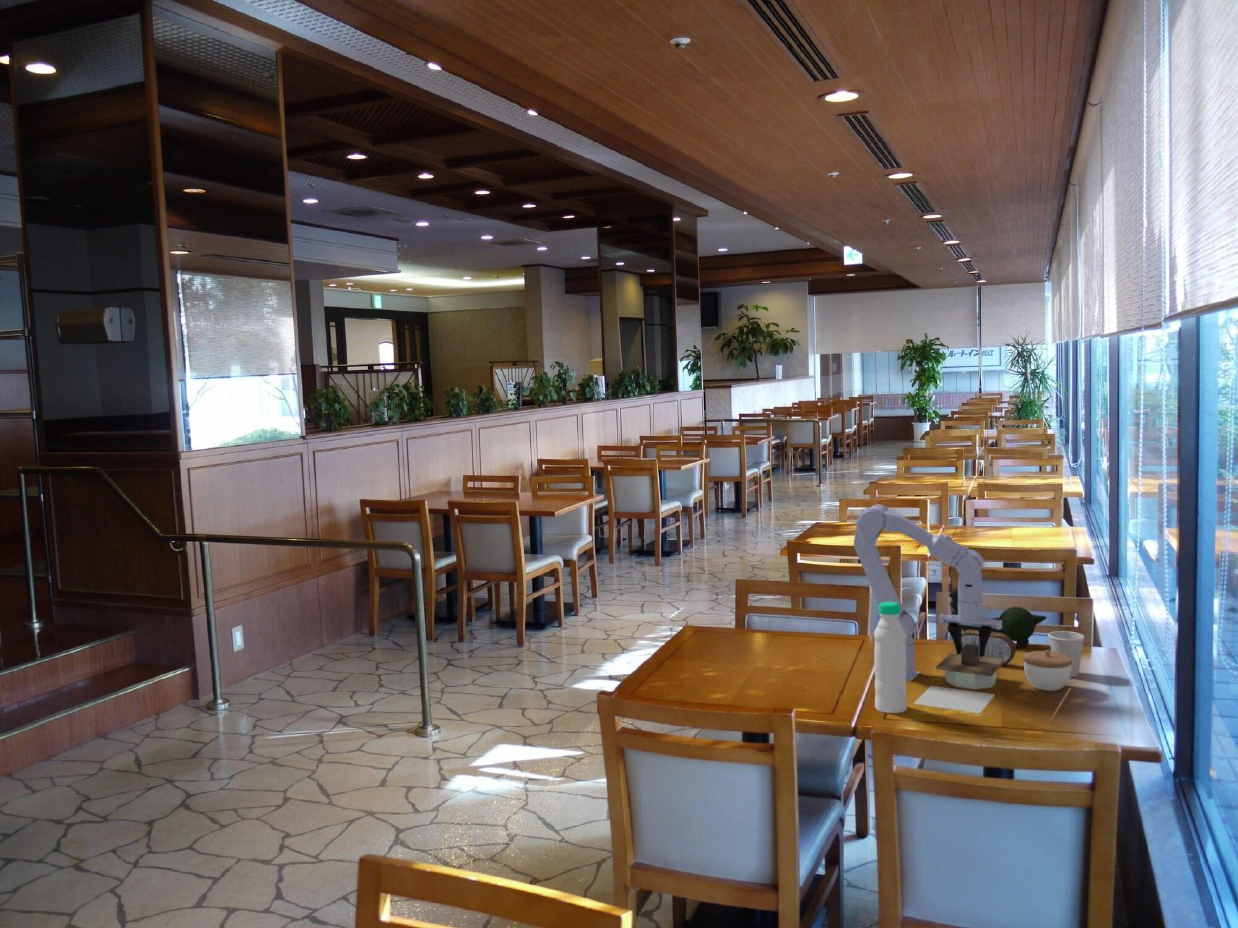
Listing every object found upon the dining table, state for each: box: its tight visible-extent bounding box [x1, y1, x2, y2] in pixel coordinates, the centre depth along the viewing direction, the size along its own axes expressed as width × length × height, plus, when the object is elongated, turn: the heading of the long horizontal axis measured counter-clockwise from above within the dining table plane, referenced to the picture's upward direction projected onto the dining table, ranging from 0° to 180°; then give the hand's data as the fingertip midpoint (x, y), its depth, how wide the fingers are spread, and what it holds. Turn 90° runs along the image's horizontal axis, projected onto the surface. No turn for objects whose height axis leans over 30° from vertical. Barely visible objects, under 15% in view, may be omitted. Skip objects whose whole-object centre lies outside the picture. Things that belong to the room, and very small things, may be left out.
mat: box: [912, 685, 996, 715], centre depth 232 cm, size 15×15×1 cm
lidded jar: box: [1022, 649, 1072, 692], centre depth 238 cm, size 11×11×9 cm
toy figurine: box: [948, 588, 1047, 648], centre depth 276 cm, size 9×19×25 cm
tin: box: [960, 630, 1017, 666], centre depth 260 cm, size 15×3×8 cm, turn 58°
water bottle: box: [873, 602, 908, 714], centre depth 226 cm, size 7×7×25 cm
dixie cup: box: [1047, 630, 1085, 678], centre depth 249 cm, size 8×8×10 cm
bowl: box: [944, 670, 997, 690], centre depth 244 cm, size 11×11×4 cm
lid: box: [935, 644, 1004, 676], centre depth 244 cm, size 13×13×5 cm
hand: (970, 654), depth 244 cm, fingers open, 5 cm apart
